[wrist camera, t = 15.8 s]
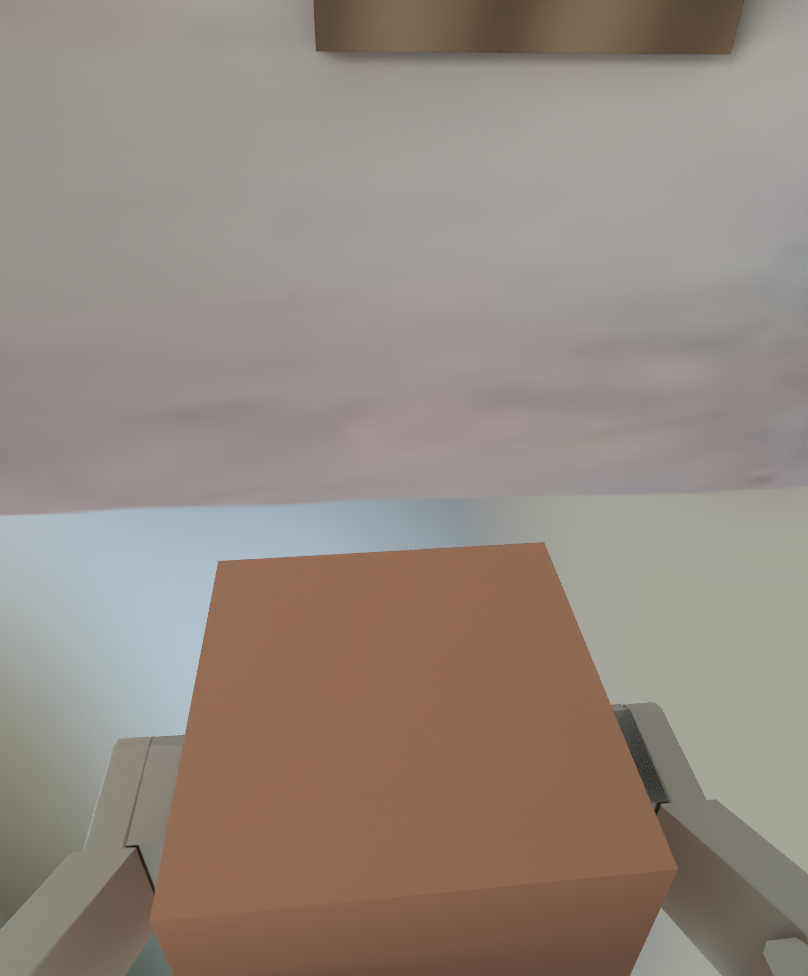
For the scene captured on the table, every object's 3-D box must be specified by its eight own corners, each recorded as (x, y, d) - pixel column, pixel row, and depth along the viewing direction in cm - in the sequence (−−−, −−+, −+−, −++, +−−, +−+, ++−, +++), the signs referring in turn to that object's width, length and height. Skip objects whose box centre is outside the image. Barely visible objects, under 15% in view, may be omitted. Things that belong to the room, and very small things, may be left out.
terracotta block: (257, 759, 13) (227, 1094, 9) (218, 561, 10) (149, 920, 6) (513, 738, 14) (594, 1051, 10) (544, 542, 11) (678, 868, 7)
